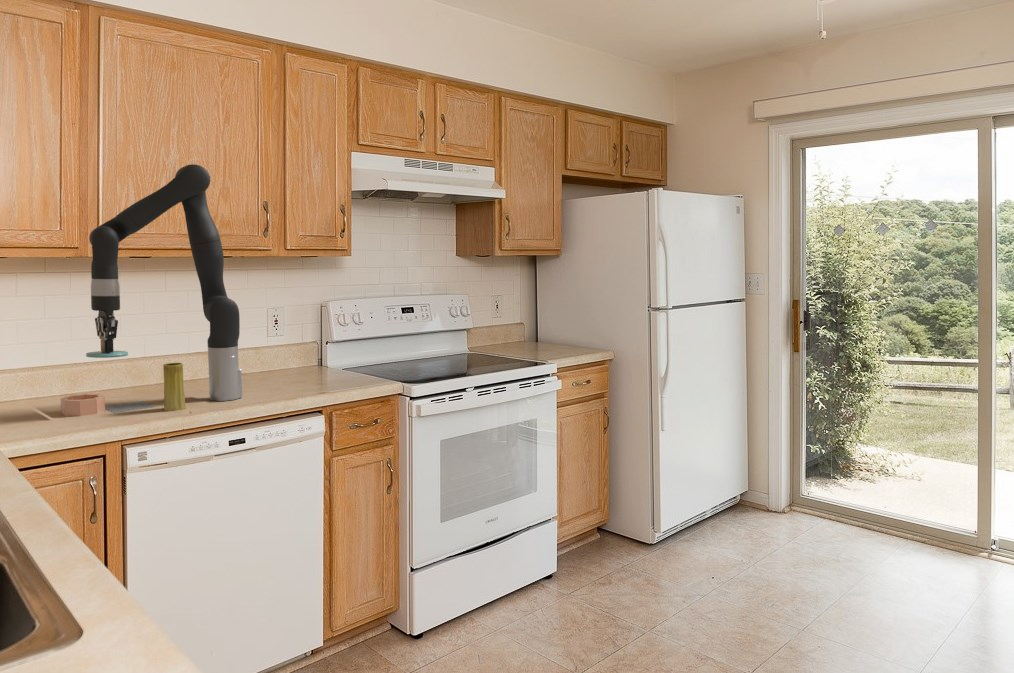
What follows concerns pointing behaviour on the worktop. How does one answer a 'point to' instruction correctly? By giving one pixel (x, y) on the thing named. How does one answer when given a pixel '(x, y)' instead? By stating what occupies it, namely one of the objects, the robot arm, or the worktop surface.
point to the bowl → (82, 404)
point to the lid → (103, 354)
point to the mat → (128, 406)
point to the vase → (173, 387)
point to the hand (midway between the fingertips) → (107, 351)
